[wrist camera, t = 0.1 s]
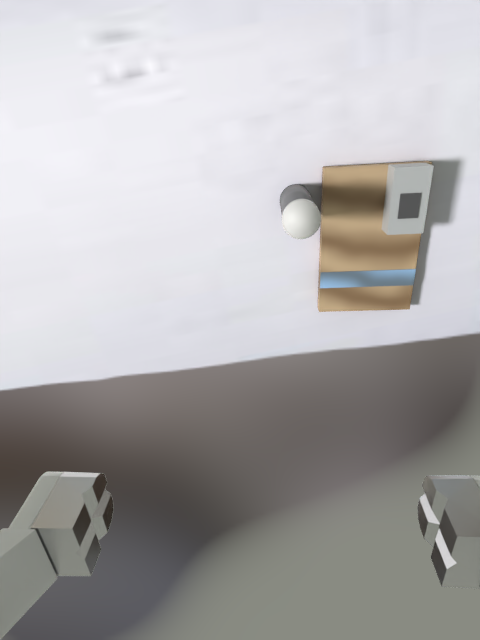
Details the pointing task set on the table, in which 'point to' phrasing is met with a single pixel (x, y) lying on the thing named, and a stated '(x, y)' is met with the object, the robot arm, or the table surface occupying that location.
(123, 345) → the table surface
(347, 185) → the board
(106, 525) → the robot arm
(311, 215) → the peg
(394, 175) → the block
